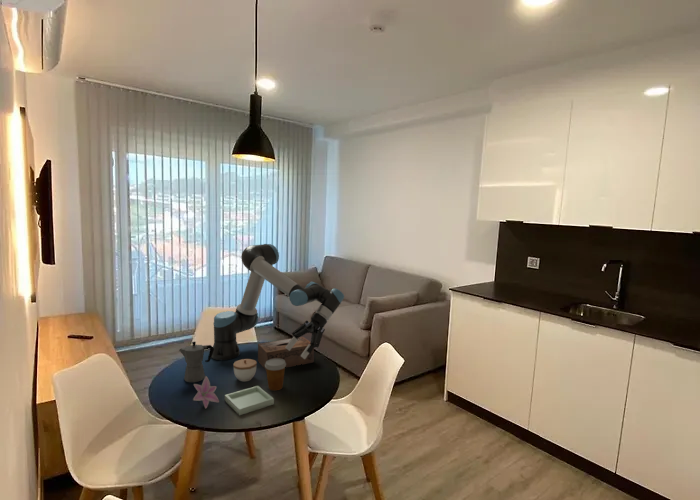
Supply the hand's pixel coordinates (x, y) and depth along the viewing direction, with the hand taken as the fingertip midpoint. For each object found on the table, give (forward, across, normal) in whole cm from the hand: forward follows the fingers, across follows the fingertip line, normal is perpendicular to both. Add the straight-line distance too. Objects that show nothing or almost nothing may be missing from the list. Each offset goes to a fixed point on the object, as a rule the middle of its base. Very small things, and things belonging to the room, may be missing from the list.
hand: (294, 353), depth 183 cm
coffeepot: (+34, +32, +15) cm, 49 cm away
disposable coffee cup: (+17, 0, -3) cm, 17 cm away
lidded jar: (+22, +17, +2) cm, 28 cm away
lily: (+38, +4, +18) cm, 43 cm away
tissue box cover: (+4, +24, -17) cm, 30 cm away
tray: (+28, -6, +8) cm, 29 cm away
